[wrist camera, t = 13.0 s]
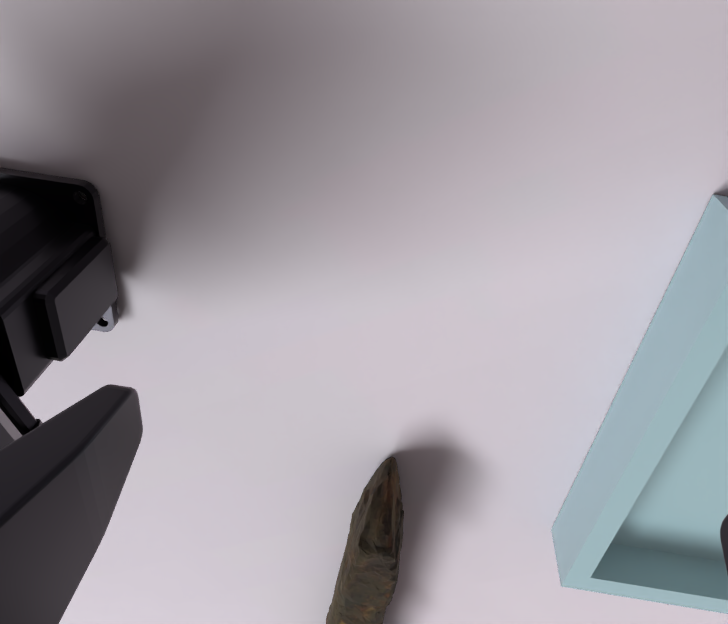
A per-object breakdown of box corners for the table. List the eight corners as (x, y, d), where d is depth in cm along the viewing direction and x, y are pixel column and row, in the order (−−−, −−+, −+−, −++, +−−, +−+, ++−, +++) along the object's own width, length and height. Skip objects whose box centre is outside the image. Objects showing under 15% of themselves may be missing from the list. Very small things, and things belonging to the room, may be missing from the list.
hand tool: (373, 650, 39) (366, 732, 35) (313, 638, 39) (299, 718, 35) (449, 459, 28) (451, 546, 24) (366, 442, 28) (355, 526, 24)
